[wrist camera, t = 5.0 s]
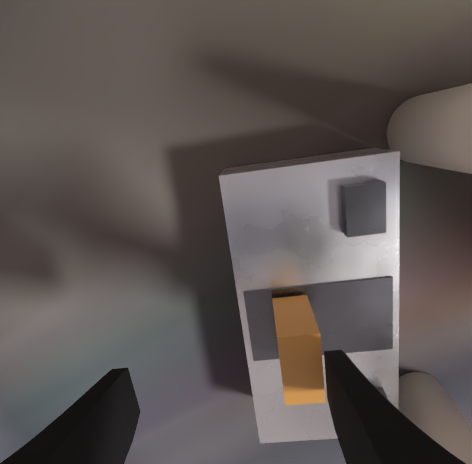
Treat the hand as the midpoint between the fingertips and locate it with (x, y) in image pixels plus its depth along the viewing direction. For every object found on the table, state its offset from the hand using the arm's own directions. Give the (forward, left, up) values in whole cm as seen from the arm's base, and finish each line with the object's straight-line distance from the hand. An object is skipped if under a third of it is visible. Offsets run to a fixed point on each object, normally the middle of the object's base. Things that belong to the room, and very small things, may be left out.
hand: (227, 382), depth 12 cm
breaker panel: (-3, -2, -6) cm, 7 cm away
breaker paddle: (-2, -1, -3) cm, 4 cm away
